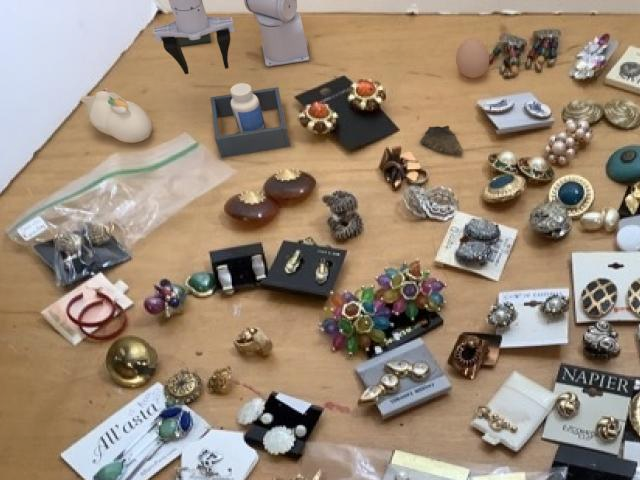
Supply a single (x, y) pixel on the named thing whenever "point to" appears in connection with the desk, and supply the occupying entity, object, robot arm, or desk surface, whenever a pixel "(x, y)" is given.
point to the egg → (472, 58)
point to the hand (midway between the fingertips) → (206, 68)
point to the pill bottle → (246, 108)
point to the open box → (250, 139)
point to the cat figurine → (117, 116)
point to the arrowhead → (442, 140)
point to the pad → (187, 42)
